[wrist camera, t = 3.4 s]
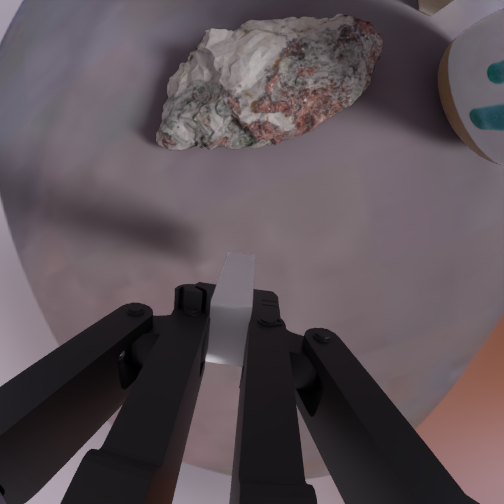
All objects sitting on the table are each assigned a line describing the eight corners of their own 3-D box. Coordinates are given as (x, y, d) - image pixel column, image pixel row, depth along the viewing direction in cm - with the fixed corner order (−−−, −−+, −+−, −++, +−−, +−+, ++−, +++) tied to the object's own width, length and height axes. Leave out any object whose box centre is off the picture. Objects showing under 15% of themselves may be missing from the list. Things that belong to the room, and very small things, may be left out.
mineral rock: (170, 166, 20) (148, 167, 15) (154, 62, 17) (131, 42, 13) (380, 136, 19) (408, 131, 14) (358, 34, 16) (379, 10, 12)
